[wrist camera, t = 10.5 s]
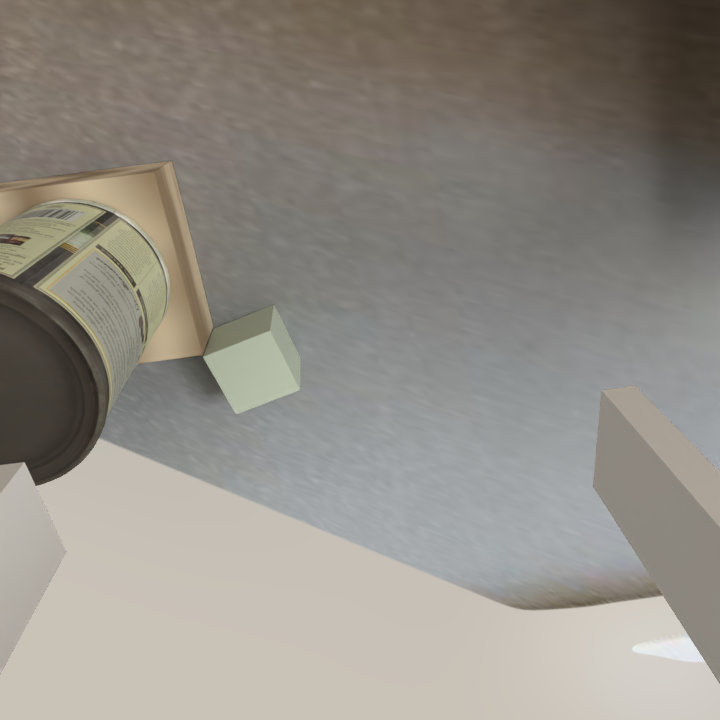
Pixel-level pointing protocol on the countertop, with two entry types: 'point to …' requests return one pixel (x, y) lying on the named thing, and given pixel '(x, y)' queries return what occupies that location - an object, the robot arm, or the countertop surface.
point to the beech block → (157, 218)
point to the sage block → (253, 359)
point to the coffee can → (71, 327)
